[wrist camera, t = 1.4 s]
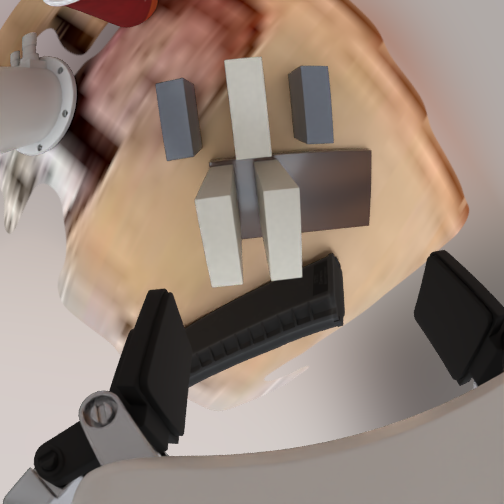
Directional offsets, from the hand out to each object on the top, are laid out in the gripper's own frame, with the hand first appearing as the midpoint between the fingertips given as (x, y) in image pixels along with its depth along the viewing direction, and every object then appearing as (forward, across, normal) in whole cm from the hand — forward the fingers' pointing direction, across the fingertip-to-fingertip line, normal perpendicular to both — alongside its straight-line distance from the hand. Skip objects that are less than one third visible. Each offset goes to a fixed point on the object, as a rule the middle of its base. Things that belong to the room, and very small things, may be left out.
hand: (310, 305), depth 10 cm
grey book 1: (+23, +7, -6) cm, 25 cm away
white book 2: (+23, +1, -6) cm, 24 cm away
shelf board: (+22, -4, +3) cm, 23 cm away
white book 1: (+21, +4, +2) cm, 22 cm away
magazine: (+23, +5, +18) cm, 30 cm away
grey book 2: (+23, -5, -6) cm, 24 cm away
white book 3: (+21, -1, +2) cm, 21 cm away
